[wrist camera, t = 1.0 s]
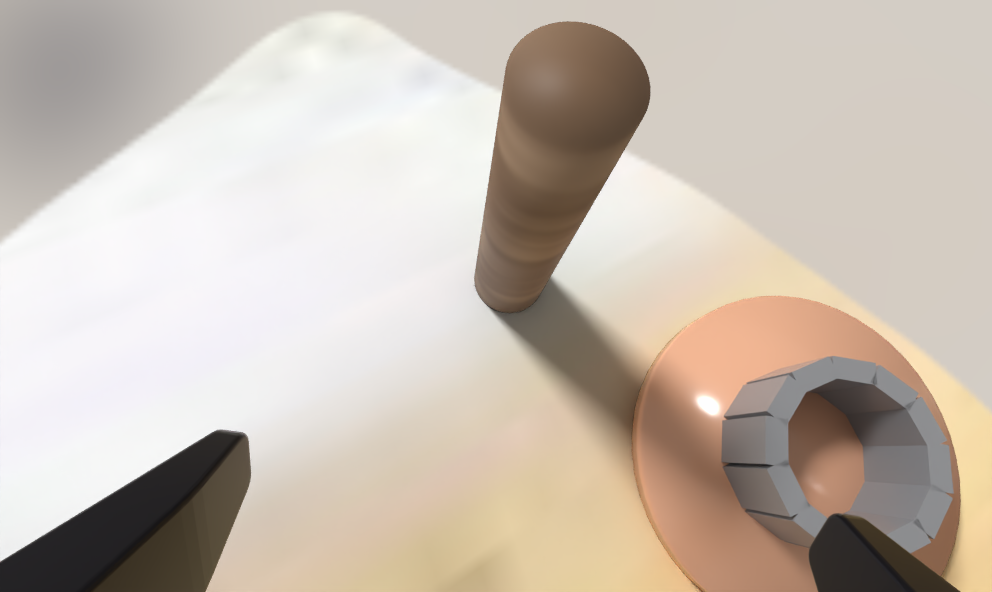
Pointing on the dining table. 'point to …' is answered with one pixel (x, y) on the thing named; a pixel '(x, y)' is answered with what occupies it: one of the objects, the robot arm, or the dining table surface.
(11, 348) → the dining table surface
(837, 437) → the dowel holder
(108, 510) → the robot arm
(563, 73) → the walnut dowel
